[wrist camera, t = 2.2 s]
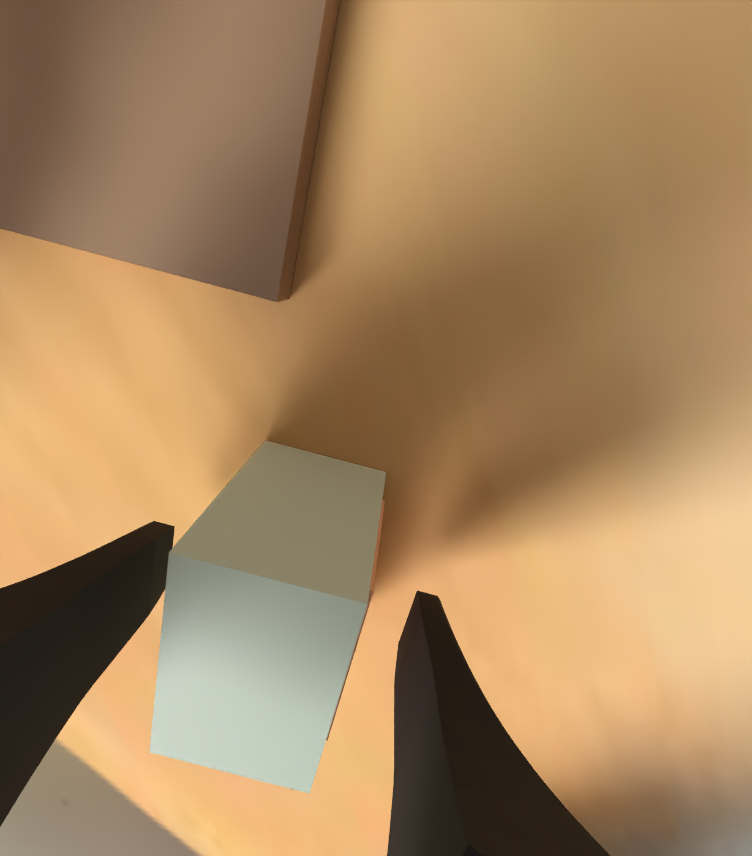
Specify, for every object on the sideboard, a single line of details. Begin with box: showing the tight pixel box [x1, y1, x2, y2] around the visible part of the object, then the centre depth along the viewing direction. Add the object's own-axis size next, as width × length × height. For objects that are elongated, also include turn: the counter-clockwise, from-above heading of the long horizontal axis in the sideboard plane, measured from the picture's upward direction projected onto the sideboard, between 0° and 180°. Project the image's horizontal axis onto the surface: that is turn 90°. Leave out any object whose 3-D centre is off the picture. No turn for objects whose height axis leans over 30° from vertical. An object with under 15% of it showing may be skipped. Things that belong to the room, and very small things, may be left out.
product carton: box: [150, 440, 386, 793], centre depth 13 cm, size 4×6×6 cm
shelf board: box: [0, 0, 341, 302], centre depth 10 cm, size 14×9×1 cm, turn 76°
